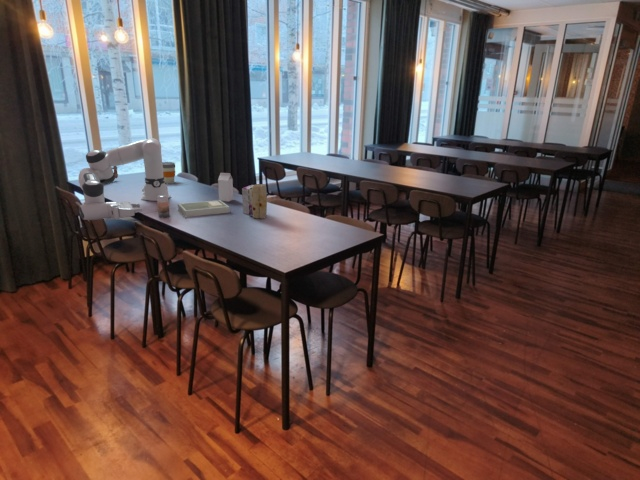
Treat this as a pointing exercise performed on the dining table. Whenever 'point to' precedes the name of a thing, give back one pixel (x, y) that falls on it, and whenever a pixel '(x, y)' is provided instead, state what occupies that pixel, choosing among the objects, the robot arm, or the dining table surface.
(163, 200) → the glass jar
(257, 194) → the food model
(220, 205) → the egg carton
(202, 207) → the pale green tray
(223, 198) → the milk carton
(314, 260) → the dining table surface
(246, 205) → the candy bar box
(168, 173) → the reusable coffee cup
